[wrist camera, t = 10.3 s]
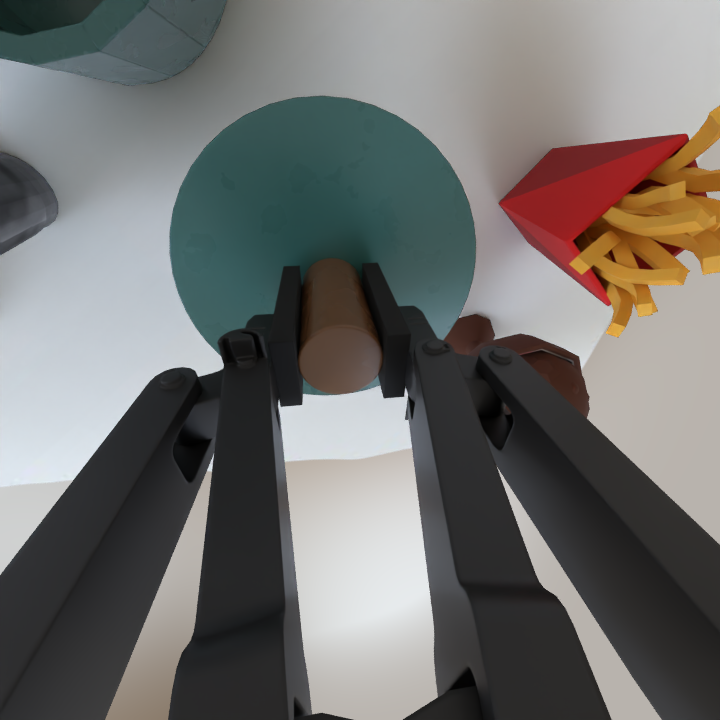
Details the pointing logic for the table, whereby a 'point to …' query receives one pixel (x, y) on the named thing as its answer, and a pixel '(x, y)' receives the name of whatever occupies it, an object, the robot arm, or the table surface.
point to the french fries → (623, 215)
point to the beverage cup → (23, 202)
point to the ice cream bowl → (525, 356)
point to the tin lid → (322, 230)
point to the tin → (109, 36)
